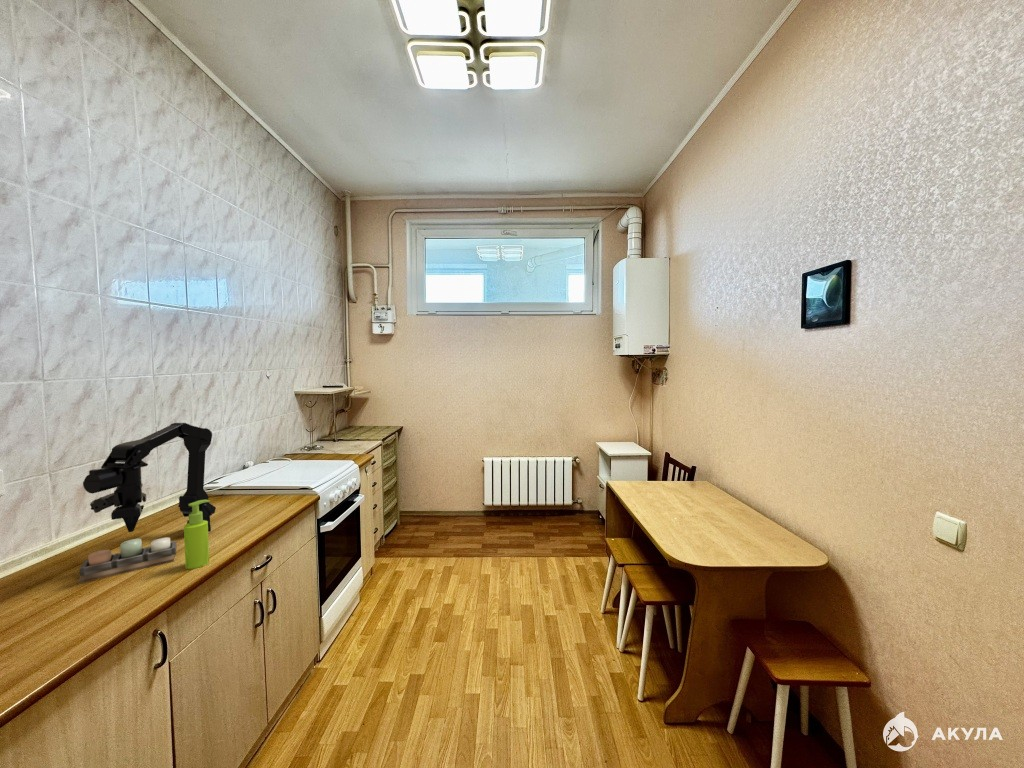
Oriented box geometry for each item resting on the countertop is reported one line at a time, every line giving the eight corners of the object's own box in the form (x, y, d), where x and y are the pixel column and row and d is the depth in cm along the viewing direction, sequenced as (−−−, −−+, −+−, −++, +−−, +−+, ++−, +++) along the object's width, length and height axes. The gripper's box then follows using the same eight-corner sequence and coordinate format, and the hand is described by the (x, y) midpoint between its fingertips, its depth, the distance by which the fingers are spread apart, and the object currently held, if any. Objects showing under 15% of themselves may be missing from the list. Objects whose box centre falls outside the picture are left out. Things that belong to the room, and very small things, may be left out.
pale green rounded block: (142, 549, 128) (142, 537, 128) (140, 554, 124) (140, 542, 124) (122, 553, 125) (121, 541, 125) (119, 559, 121) (119, 546, 121)
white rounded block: (171, 547, 133) (170, 536, 132) (170, 553, 129) (169, 541, 129) (152, 551, 130) (151, 540, 129) (150, 557, 126) (149, 545, 126)
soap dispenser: (217, 559, 127) (214, 499, 126) (193, 570, 120) (191, 506, 119) (204, 557, 129) (202, 497, 128) (181, 567, 122) (178, 504, 121)
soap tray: (177, 545, 137) (177, 537, 137) (175, 561, 126) (174, 551, 126) (88, 565, 124) (87, 555, 124) (76, 584, 113) (76, 573, 113)
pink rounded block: (112, 560, 124) (112, 548, 124) (109, 566, 120) (109, 553, 120) (90, 565, 121) (90, 552, 121) (87, 571, 117) (86, 558, 117)
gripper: (98, 481, 126) (100, 528, 127) (85, 496, 112) (87, 549, 112) (145, 475, 133) (147, 520, 134) (138, 488, 119) (140, 538, 119)
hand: (131, 531), depth 125 cm, fingers closed
